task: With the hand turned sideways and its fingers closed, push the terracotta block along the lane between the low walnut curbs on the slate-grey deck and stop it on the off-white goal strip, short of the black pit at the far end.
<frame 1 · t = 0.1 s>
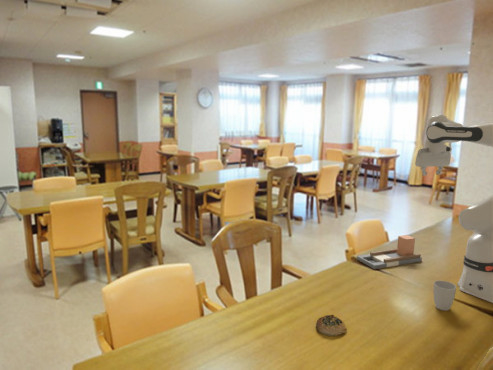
hand: (431, 174, 189), 48 cm above the table, tool pointing down, fingers open, 8 cm apart
deck: (390, 260, 201), on the table
bread roll: (330, 329, 135), on the table
block: (404, 254, 204), point 2 cm above the table, touching deck
cup: (442, 307, 151), on the table
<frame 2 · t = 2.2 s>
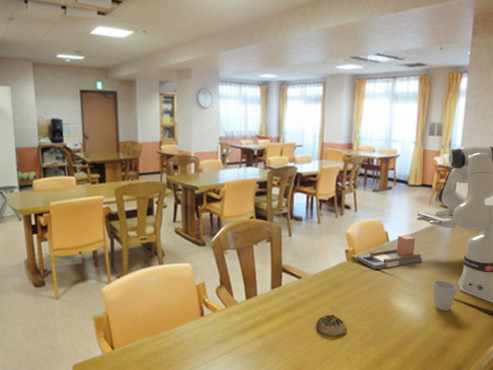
hand: (424, 220, 205), 20 cm above the table, tool horizontal, fingers open, 7 cm apart
nothing on the table moved.
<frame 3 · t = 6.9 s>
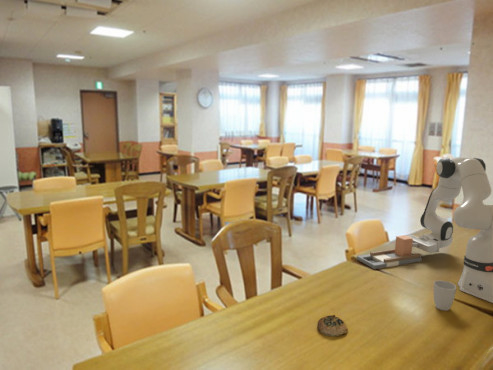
hand: (408, 244, 204), 7 cm above the table, tool horizontal, fingers closed
block: (402, 254, 204), point 2 cm above the table, touching deck
everything else where it was.
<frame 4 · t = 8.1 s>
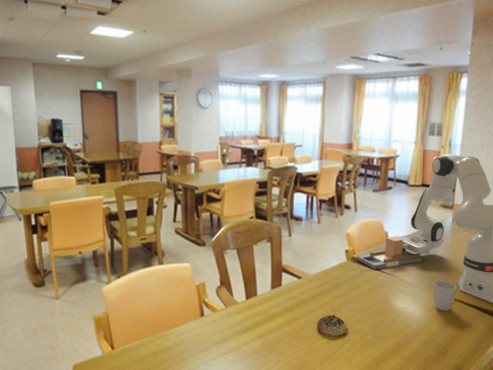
hand: (398, 246, 201), 7 cm above the table, tool horizontal, fingers closed, pressing on block
block: (392, 256, 201), point 2 cm above the table, touching gripper
everything else where it was.
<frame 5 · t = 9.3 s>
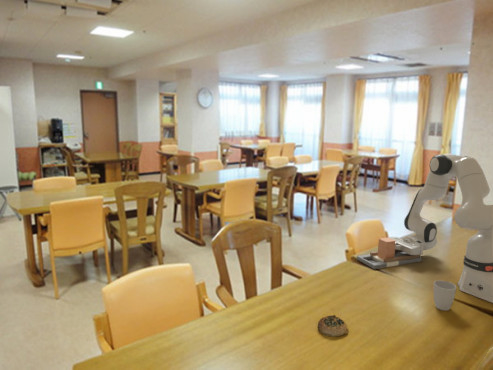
hand: (391, 247, 200), 8 cm above the table, tool horizontal, fingers closed
block: (385, 257, 199), point 2 cm above the table, touching deck
everything else where it was.
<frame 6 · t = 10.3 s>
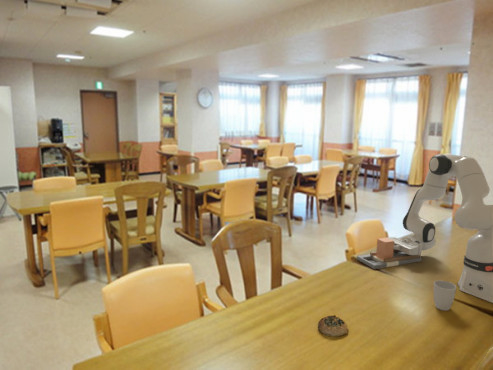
hand: (389, 247, 199), 8 cm above the table, tool horizontal, fingers closed, pressing on block
block: (384, 257, 199), point 2 cm above the table, touching deck, gripper
everything else where it was.
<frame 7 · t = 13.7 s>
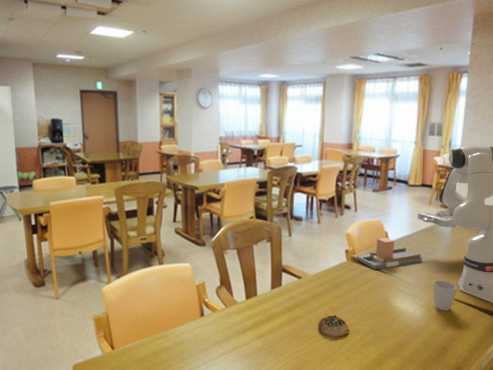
hand: (424, 220, 205), 21 cm above the table, tool horizontal, fingers closed
block: (384, 257, 199), point 2 cm above the table, touching deck
everything else where it was.
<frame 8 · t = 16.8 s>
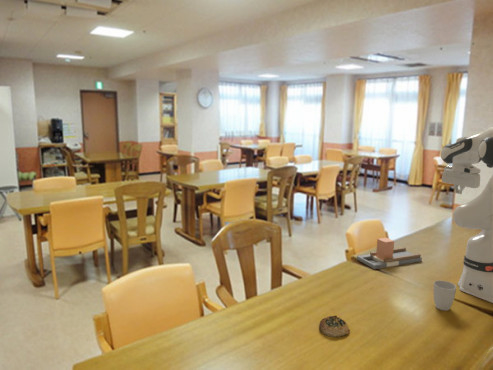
hand: (458, 193, 197), 37 cm above the table, tool pointing down, fingers closed
at the end: block inside the target area (0.1 cm from its centre), point 2.0 cm above the table; block tilted 0° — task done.
